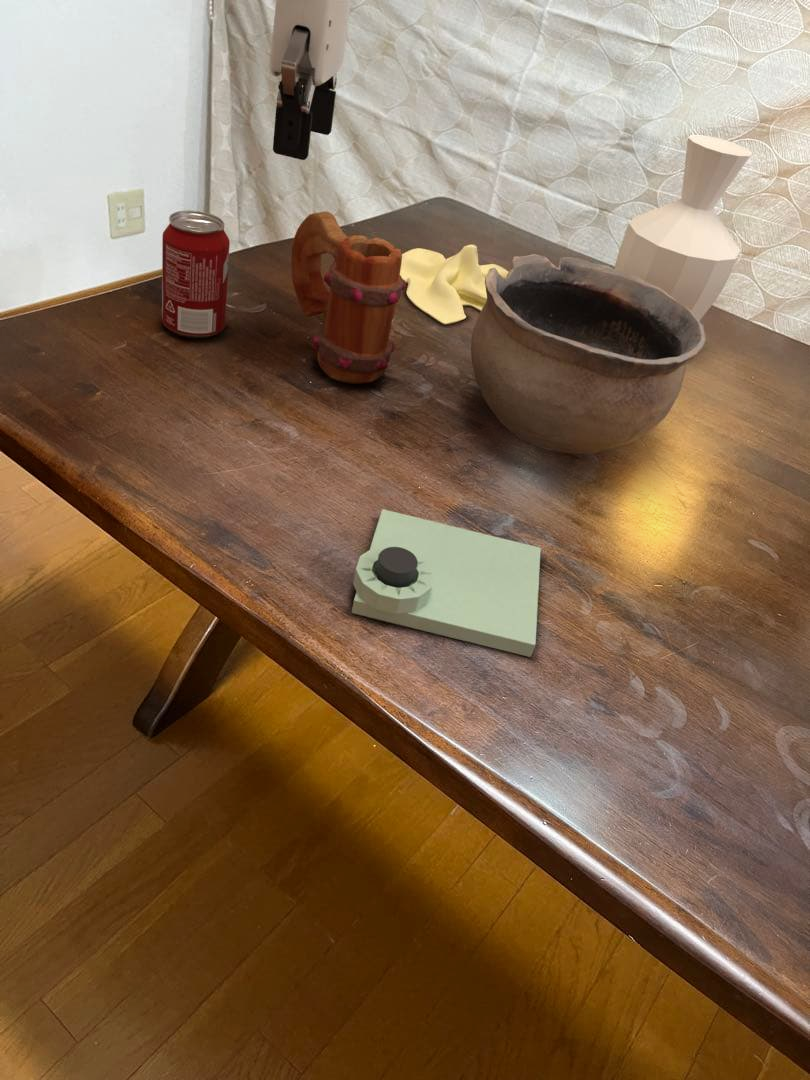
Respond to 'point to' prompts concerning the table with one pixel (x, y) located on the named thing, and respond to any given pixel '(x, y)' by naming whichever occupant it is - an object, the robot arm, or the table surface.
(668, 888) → the table surface
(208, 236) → the soda can
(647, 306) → the ceramic bowl
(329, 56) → the robot arm
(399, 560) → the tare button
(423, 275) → the cloth
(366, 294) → the mug
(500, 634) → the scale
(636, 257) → the vase
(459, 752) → the table surface
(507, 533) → the table surface
